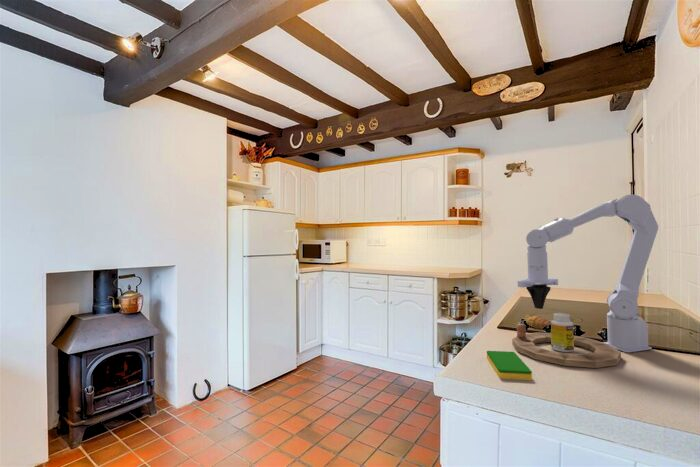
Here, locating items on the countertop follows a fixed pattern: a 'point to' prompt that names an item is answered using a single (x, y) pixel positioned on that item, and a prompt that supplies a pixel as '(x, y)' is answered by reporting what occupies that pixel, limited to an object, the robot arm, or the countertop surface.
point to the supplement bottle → (562, 333)
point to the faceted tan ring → (599, 358)
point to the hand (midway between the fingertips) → (538, 308)
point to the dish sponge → (508, 365)
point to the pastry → (536, 321)
